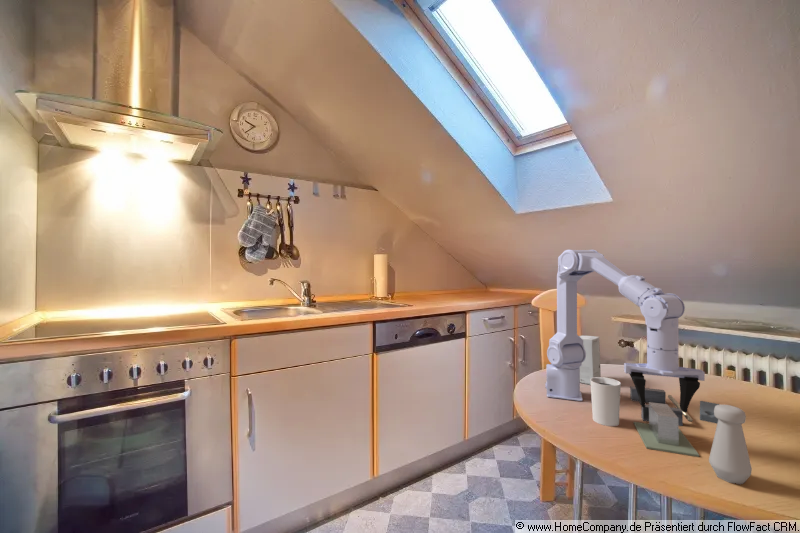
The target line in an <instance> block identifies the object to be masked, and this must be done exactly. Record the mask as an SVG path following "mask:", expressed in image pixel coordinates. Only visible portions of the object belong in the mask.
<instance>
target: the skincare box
mask: <svg viewBox="0 0 800 533" xmlns="http://www.w3.org/2000/svg"><path fill="white" fill-rule="evenodd" d="M578 336H579V337H580V338H582V339H583V345H584V349H585V351H586V358H585V360H584V362H582V366H580V384H581V383H582V384H585V385H590V386H591V382H590V379H591V378H593V377H602V374H601V373H602V372H601V351H600V343H601V341H600V336H595V335H594V336H593V335H584V334H583V335H578Z"/></svg>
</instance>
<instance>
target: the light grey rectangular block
mask: <svg viewBox="0 0 800 533" xmlns="http://www.w3.org/2000/svg"><path fill="white" fill-rule="evenodd" d="M648 405H649V421H648V424H649V428H650V430H651V431H652V433H653V435H654V436H655V438H656V440H657V441H658V443H662V444H669V445H675V446H679V429H680V428H679V425H678V417H677V416H676V414H675V413H674V412H673V411H672V410H671V408H670V406H669V404H667V403H666V404H660V403H652V402H649V403H648Z"/></svg>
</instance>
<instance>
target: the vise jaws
mask: <svg viewBox="0 0 800 533" xmlns="http://www.w3.org/2000/svg"><path fill="white" fill-rule="evenodd" d="M629 388H630V389H629V391H630V393H629V395H630V396H629V397H630V401H631V402H638V403H639V397H638V393H637V390H636V387H635V386H630V387H629ZM666 393H667V392H666V391H665V390H664V389H657V388H649V387H645V407H641V406H640V407H641V412H640V414H641V417H640V418H641V419H642V421H644V422H649V402H652V403H660V404H667V403H666V402H667V401H666V400H667V398H668V399H669V400H670V402H672V404H673V405H674V407H670V406H669V407H670V408H671V410H672V411H673V412H674V413H675V414H676V416H677V417H678V427H679V426H680V427H684V425H683V423H684V422H683V419H684V418H685V419H686V420H687V421H688V422H690V423H692V422H693V420H694V418H692V417H691V416H690V415H689V413H688V411H687V412H683V411H682V410H681V409H680V402H678V401H677V400H676V399H675V398H674V396H672V395H671V394H668V395H666ZM666 396H667V398H666ZM683 416H684V418H683Z"/></svg>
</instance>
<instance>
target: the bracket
mask: <svg viewBox="0 0 800 533" xmlns="http://www.w3.org/2000/svg"><path fill="white" fill-rule="evenodd" d="M717 405H721V404H720V403H715V402H709V401H704V400H699V420H700V421H702V422H708V423H711V424H717V423H718V419H717V418H716V417H715V415H714V408H715V406H717Z"/></svg>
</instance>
